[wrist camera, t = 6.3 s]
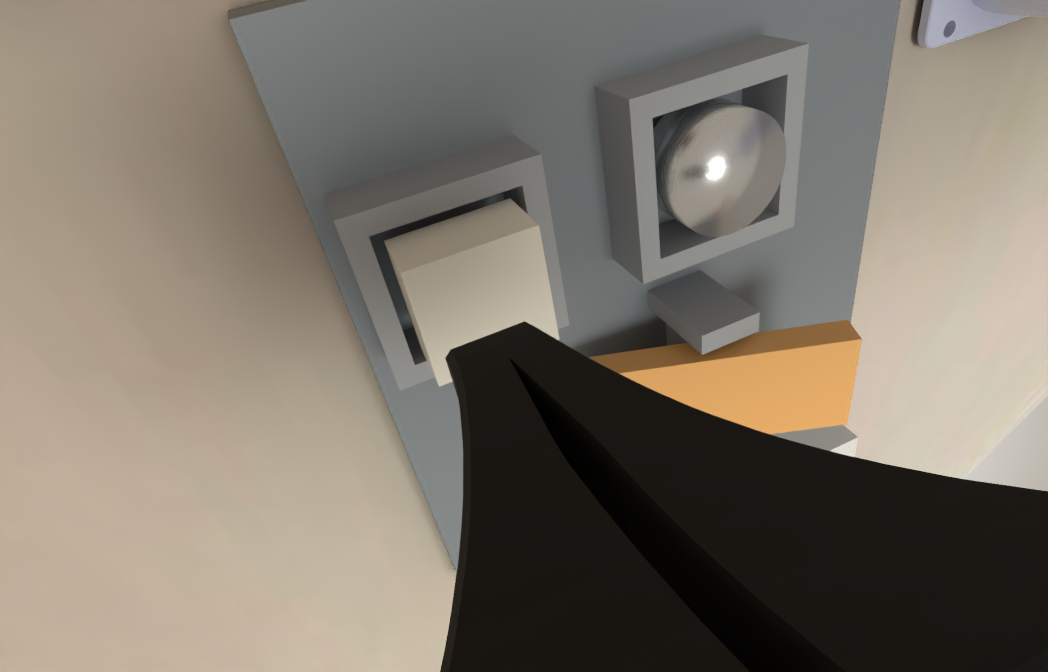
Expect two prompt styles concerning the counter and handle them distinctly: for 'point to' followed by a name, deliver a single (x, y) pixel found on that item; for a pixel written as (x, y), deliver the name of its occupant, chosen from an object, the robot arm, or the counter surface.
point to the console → (570, 165)
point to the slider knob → (825, 439)
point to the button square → (472, 279)
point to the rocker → (757, 376)
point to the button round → (717, 165)
